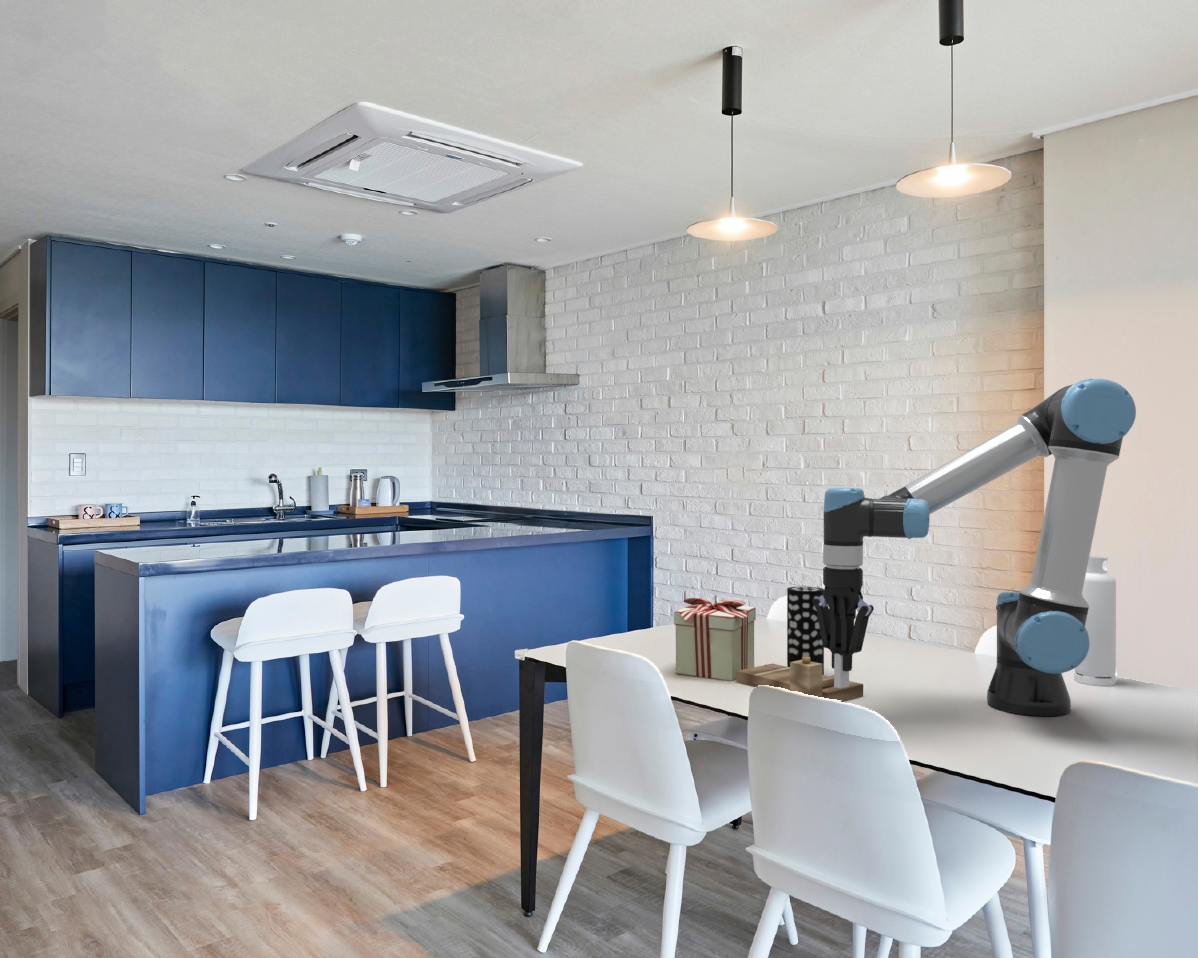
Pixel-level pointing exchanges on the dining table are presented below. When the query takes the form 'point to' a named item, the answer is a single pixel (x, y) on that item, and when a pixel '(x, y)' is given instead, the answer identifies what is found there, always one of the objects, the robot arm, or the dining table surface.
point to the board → (781, 678)
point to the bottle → (1099, 626)
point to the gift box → (714, 638)
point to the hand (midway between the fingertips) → (841, 686)
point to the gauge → (808, 677)
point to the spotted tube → (803, 625)
